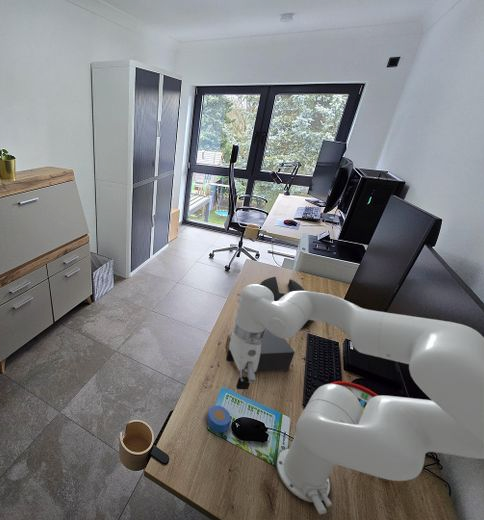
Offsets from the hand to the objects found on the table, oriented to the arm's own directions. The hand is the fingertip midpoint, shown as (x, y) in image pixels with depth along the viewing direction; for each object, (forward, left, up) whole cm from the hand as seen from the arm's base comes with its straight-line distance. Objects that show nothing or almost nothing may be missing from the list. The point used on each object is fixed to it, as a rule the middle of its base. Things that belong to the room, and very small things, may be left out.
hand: (236, 373), depth 84 cm
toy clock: (-4, -41, -19) cm, 45 cm away
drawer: (+23, -15, -18) cm, 33 cm away
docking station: (+58, -52, -19) cm, 80 cm away
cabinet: (+23, -24, -19) cm, 38 cm away
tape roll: (-2, +3, -19) cm, 19 cm away
